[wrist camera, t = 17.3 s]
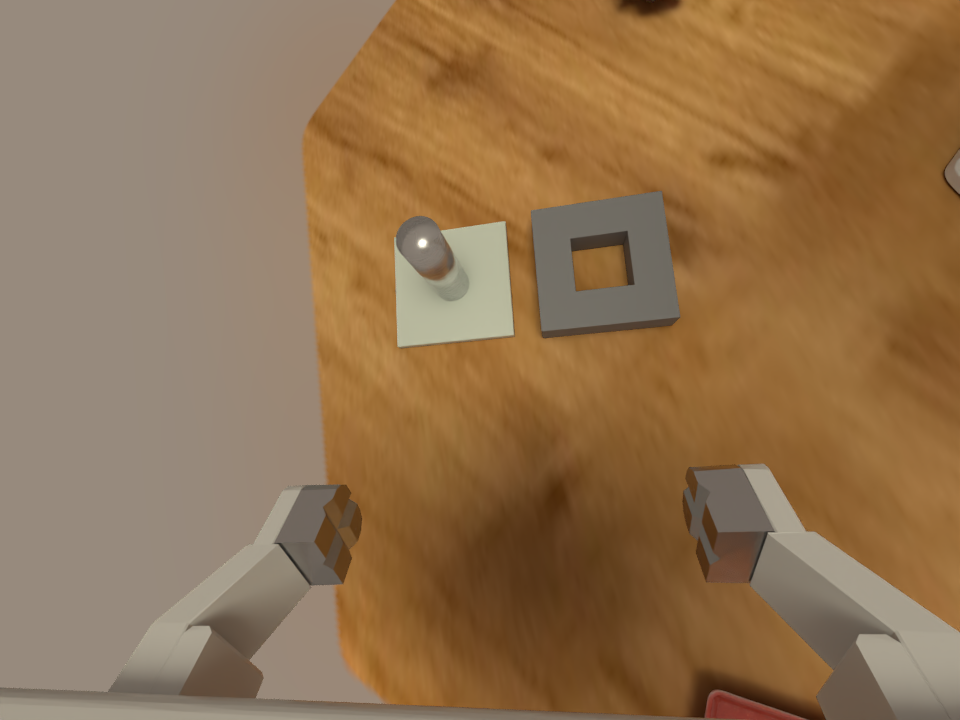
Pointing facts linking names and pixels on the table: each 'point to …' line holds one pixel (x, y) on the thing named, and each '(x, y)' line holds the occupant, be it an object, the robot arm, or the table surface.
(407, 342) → the pad
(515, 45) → the table surface
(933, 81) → the table surface
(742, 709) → the plant saucer
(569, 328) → the square socket
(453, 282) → the peg
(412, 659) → the table surface
